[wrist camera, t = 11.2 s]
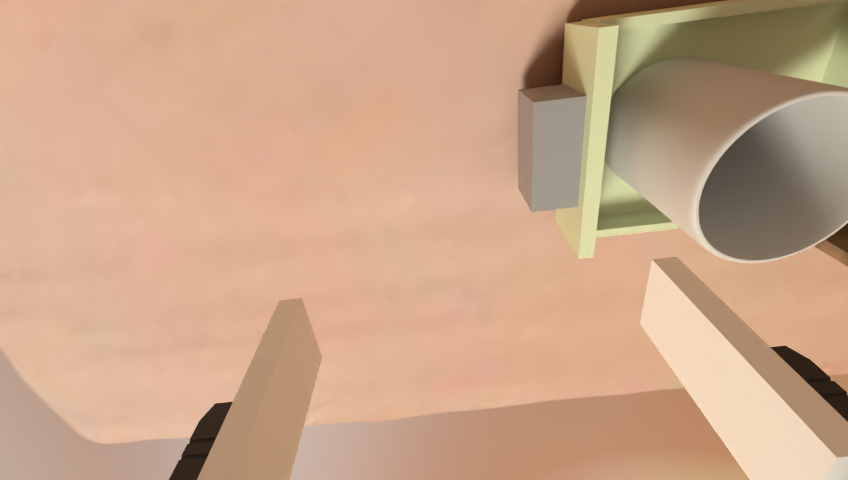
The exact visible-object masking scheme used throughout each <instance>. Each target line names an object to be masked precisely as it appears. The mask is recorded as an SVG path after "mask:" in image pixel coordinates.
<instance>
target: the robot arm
mask: <svg viewBox="0 0 848 480" xmlns="http://www.w3.org/2000/svg"><path fill="white" fill-rule="evenodd" d="M640 325H641V326H642V328H643V329H644V330H645V332H646V333H647V335H648V336H649V337H650V339H651V340H652V342H653V343H654V345H655V346H656V347H657V349H658V350H659V352H660V353H661V354H662V356H663V357H664V359H665V360H666V362H667V363H668V364H669V366H670V367H671V369H672V370H673V371H674V373H675V374H676V376H677V377H678V379H679V380H680V381H681V383H682V384H683V386H684V387H685V388H686V390H687V391H688V393H689V394H690V396H691V397H692V398H693V400H694V401H695V402H696V404H697V405H698V407H699V408H700V410H701V411H702V412H703V414H704V415H705V417H706V418H707V420H708V421H709V422H710V424H711V425H712V427H713V428H714V430H715V431H716V432H717V434H718V435H719V436H720V438H721V439H722V441H723V442H724V444H725V445H726V447H727V448H728V449H729V451H730V452H731V454H732V455H733V456H734V458H735V459H736V461H737V462H738V464H739V465H740V466H741V468H742V469H743V471H744V472H745V473H746V475H747V476H748V478H749V479H750V480H848V395H847V392H846V391H845V390H843V389H842V388H841V387H840V386H839V385H838V384H837V383H836V382H834V381H831V380H830V377H829V376H828V375H827V374H826V373H824V372H823V371H822V370H821V369H820V368H819V367H818V366H817V365H816V364H814V363H813V362H812V361H811V360H810V359H808V358H806V357H804V356H803V355H801V354H799V353H797V352H796V351H794V350H792V349H790V348H788V347H787V346H779V347H769V346H768V345H767V344H766V343H765V342H764V341H763V340H762V339H761V338H760V337H759V336H758V335H757V334H756V333H755V332H754V331H753V330H752V329H751V328H750V327H749V326H748V325H747V324H746V323H745V322H743V321H742V320H741V319H740V318H739V317H738V316H737V315H736V314H735V313H734V312H733V311H732V310H731V309H730V308H729V307H728V306H727V305H726V304H725V303H724V302H723V301H722V300H721V299H720V298H719V297H718V296H716V295H715V294H714V293H713V292H712V291H711V290H710V289H709V288H708V287H707V286H706V285H705V284H704V283H703V282H702V281H701V280H700V279H699V278H698V277H697V276H696V275H695V274H694V273H693V272H692V271H691V270H689V269H688V268H687V267H686V266H685V265H684V264H683V263H682V262H681V261H680V260H679V259H678V258H677V257H671V258H662V259H653V260H652V263H651V268H650V274H649V279H648V284H647V289H646V295H645V300H644V305H643V310H642V316H641V321H640ZM321 358H322V356H321V353H320V350H319V347H318V344H317V341H316V338H315V335H314V333H313V330H312V327H311V324H310V321H309V318H308V315H307V312H306V309H305V307H304V304H303V301H302V298H300V299H291V300H281V301H279V303H278V305H277V307H276V309H275V311H274V314H273V316H272V318H271V320H270V322H269V324H268V327H267V329H266V331H265V333H264V335H263V337H262V340H261V342H260V344H259V346H258V348H257V350H256V353H255V355H254V357H253V359H252V361H251V364H250V366H249V368H248V370H247V372H246V374H245V377H244V379H243V381H242V383H241V385H240V387H239V390H238V392H237V394H236V396H235V398H234V400H233V402H227V403H217V404H215V405H214V406H213V407H212V408H211V409H210V410H209V411H208V412H207V413H206V414H205V416H204V417H203V418H202V419H201V420H200V421H199V423H198V425H197V427H196V429H195V431H194V433H193V435H192V436H191V438H190V443H189V444H187V446H186V448H185V450H184V452H183V454H182V458H181V460H179V462H178V464H177V465H176V467H175V469H174V471H173V473H172V475H171V477H170V479H169V480H289V478H290V475H291V471H292V467H293V464H294V460H295V456H296V452H297V449H298V445H299V440H300V437H301V434H302V430H303V426H304V422H305V419H306V415H307V411H308V407H309V403H310V400H311V396H312V392H313V388H314V385H315V381H316V377H317V373H318V370H319V366H320V362H321Z"/></svg>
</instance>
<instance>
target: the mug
mask: <svg viewBox="0 0 848 480" xmlns="http://www.w3.org/2000/svg"><path fill="white" fill-rule="evenodd" d="M604 159H605V161H606V163H607V165H608V166H609V168H610V169H611V170H612V171H613V172H614V173H615V174H616V175H617V176H618V177H619V178H620V179H622V180H623V181H624V182H625V183H627V184H628V185H629V186H631V187H632V188H633V189H634V190H636V191H637V192H638V193H639V194H641V195H642V196H643V197H644V198H645V199H646V200H648V201H649V202H650V203H651V204H652V205H654V206H655V207H656V208H657V209H658V210H659V211H661V212H662V213H663V214H664V215H665V216H667V217H668V218H669V219H670V220H671V221H672V222H674V223H675V224H676V225H677V226H678V227H680V228H681V229H682V230H683V231H684V232H685V233H687V234H688V235H689V236H690V237H691V238H693V239H694V240H695V241H696V242H697V243H698V244H700V245H701V246H702V247H704V248H705V249H706V250H708V251H709V252H711V253H712V254H714V255H716V256H718V257H721V258H723V259H726V260H730V261H734V262H741V263H760V262H769V261H774V260H779V259H782V258H786V257H789V256H792V255H795V254H797V253H800V252H802V251H805V250H807V249H809V248H811V247H813V246H815V245H817V244H818V243H820V242H822V241H824V240H825V239H827V238H828V237H830V236H831V235H833V234H834V233H836V232H837V231H838V230H840V229H841V228H842V227H843V226H845V225H846V224H847V223H848V88H846V87H841V86H836V85H831V84H826V83H820V82H815V81H810V80H805V79H800V78H794V77H789V76H784V75H779V74H774V73H769V72H763V71H758V70H753V69H748V68H743V67H738V66H733V65H728V64H723V63H719V62H715V61H711V60H707V59H702V58H696V57H675V58H670V59H666V60H662V61H659V62H657V63H654V64H652V65H650V66H648V67H646V68H644V69H642V70H641V71H639V72H638V73H636V74H635V75H634V76H633V77H631V78H630V79H629V80H628V81H627V82H626V83H625V84H624V85H623V86H622V87H621V88H620V89H619V91H618V92H617V93H616V94H615V96H614V97H613V99H612V100H611V104H610V113H609V122H608V131H607V140H606V149H605V158H604Z"/></svg>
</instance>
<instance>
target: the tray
mask: <svg viewBox="0 0 848 480" xmlns="http://www.w3.org/2000/svg"><path fill="white" fill-rule="evenodd" d="M675 57H696V58H702V59H707V60H711V61H715V62H719V63H723V64H728V65H733V66H738V67H743V68H748V69H753V70H758V71H763V72H769V73H774V74H779V75H784V76H789V77H794V78H800V79H805V80H810V81H815V82H820V83H826V84H831V85H836V86H841V87H846V88H848V0H724V1H717V2H709V3H702V4H694V5H687V6H679V7H672V8H664V9H657V10H649V11H642V12H634V13H626V14H619V15H611V16H604V17H596V18H589V19H582V20H581V21H580V22H572V23H565V36H564V55H563V75H562V84H561V85H553V86H545V87H537V88H529V89H521V90H518V188H519V190H520V192H521V194H522V195H523V197H524V199H525V201H526V203H527V204H528V206H529V208H530V210H531V212H536V211H545V210H554V209H556V213H555V223H556V224H557V226H558V227H559V229H560V230H561V232H562V234H563V235H564V237H565V238H566V240H567V241H568V243H569V245H570V246H571V248H572V249H573V251H574V252H575V254H576V256H577V257H578V259H583V258H592V257H594V249H595V240H596V238H597V237H606V236H616V235H625V234H634V233H643V232H652V231H662V230H671V229H680V227H678V226H677V225H676V224H675V223H674V222H672V221H671V220H670V219H669V218H668V217H667V216H665V215H664V214H663V213H662V212H661V211H659V210H658V209H657V208H656V207H655V206H654V205H652V204H651V203H650V202H649V201H648V200H646V199H645V198H644V197H643V196H642V195H641V194H639V193H638V192H637V191H636V190H634V189H633V188H632V187H631V186H629V185H628V184H627V183H625V182H624V181H623V180H622V179H620V178H619V177H618V176H617V175H616V174H615V173H614V172H613V171H612V170H611V169H610V168H609V166H608V165H607V163H606V161H605V159H604V158H605V149H606V140H607V131H608V122H609V113H610V104H611V100H612V99H613V97H614V96H615V94H616V93H617V92H618V91H619V89H620V88H621V87H622V86H623V85H624V84H625V83H626V82H627V81H628V80H629V79H630V78H631V77H633V76H634V75H635V74H636V73H638V72H639V71H641V70H642V69H644V68H646V67H648V66H650V65H652V64H654V63H657V62H659V61H662V60H666V59H670V58H675Z"/></svg>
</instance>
